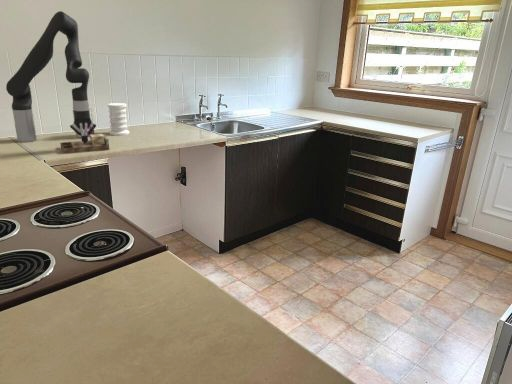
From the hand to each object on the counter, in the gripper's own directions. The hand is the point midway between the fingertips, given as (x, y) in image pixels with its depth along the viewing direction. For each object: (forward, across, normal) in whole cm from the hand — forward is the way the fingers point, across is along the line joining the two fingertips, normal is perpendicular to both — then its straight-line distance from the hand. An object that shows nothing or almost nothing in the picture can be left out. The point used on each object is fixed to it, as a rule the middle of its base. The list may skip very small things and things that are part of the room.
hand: (85, 142), depth 204 cm
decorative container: (+3, +24, +31) cm, 39 cm away
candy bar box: (+4, +4, +29) cm, 30 cm away
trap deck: (+3, 0, 0) cm, 3 cm away
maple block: (+1, +6, 0) cm, 6 cm away
